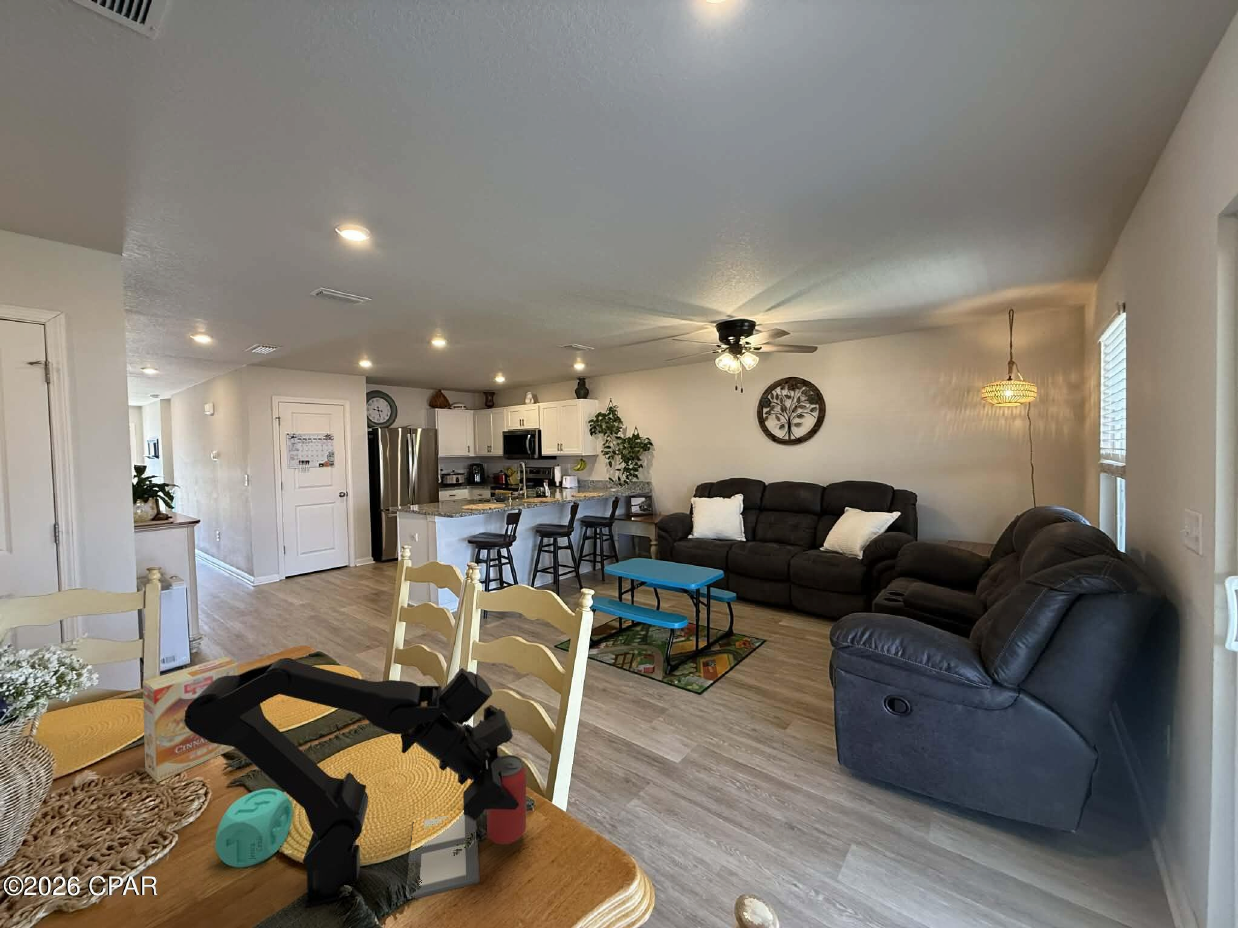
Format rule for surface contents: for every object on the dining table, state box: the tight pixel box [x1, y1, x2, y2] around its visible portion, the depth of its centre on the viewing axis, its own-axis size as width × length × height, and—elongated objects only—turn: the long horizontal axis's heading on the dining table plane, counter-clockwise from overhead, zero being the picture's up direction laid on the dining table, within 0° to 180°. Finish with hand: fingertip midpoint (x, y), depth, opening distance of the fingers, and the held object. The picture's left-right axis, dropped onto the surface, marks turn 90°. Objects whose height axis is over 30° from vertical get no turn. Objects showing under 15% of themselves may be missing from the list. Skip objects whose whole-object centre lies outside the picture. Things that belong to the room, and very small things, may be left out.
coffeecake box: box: [142, 656, 239, 783], centre depth 111 cm, size 15×7×20 cm, turn 148°
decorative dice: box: [214, 788, 294, 868], centre depth 87 cm, size 8×8×8 cm
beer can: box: [486, 754, 527, 845], centre depth 88 cm, size 7×7×12 cm
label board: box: [407, 812, 480, 899], centre depth 87 cm, size 11×17×1 cm, turn 18°
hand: (515, 792), depth 88 cm, fingers closed on beer can, 6 cm apart
